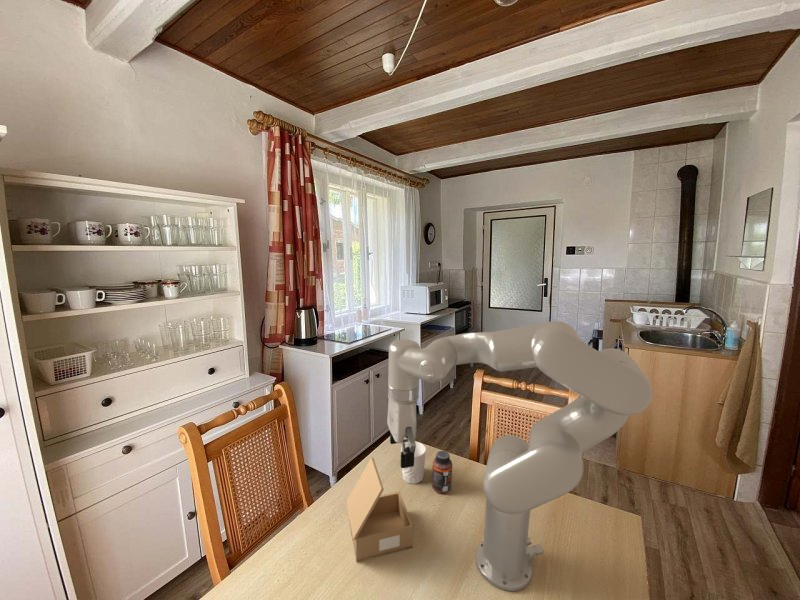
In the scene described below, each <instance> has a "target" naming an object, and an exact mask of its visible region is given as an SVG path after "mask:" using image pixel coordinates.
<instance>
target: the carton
mask: <svg viewBox="0 0 800 600" xmlns="http://www.w3.org/2000/svg"><path fill="white" fill-rule="evenodd" d="M408 512H409V511H408V510H407V507H406V505H405V502H404V499H403V497H402V495H401V492H400V491H397V492H390V493H386V494H381V495H380V497H379V499H378V501H377V503H376V504H375V506H374V508H373V510H372V511H371V513H370V515H369V517H368V518H367V520H366V522H365V524H364V525H363V527H362V529H361V531H360V533H359V534H358V536H357V538H356V540H354V539H353V536H352V531H351V530H350V533H351V538H352V544H353V550H354V556H355V560H356V563H357V562H361V561H366V560H370V559H372V558H377V557H380V556H384V555H388V554H394V553H396V552H400V551H404V550H407V549H412V548H414V525H413V522H412V520H411V517H410V514H409V513H408ZM348 522H349V523H350V519H349V518H348ZM349 528H350V529H351V525H350V524H349Z"/></svg>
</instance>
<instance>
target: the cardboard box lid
mask: <svg viewBox="0 0 800 600" xmlns="http://www.w3.org/2000/svg"><path fill="white" fill-rule="evenodd" d="M384 490H385V489H384V486H383V483H382V480H381V477H380V474H379V471H378V467H377V465H376V462H375V459H374V458H373V457H371V458H370V459H369V461H368V463H367V465H366V466H365V468H364V470H363V472H362V474H361V475H360V477H359V478H358V481H357V482H356V484H355V486H354V487H353V489H352V491H351V493H350V495H349V496H348V498H347V500H346V507H347V513H348V520H349V519H350V522H349V526H350V525H351V528H350V532H351V531H352V534H351V537H352V536H353V539H354V540H356V538H357V536H358V534H359V533H360V531H361V529H362V527H363V525H364V524H365V522H366V520H367V518H368V517H369V515H370V513H371V511H372V510H373V508H374V506H375V504H376V503H377V501H378V499H379V497H380V496H381V495H383V494H382V493H383V492H384ZM353 539H352V540H353Z"/></svg>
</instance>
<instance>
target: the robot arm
mask: <svg viewBox="0 0 800 600" xmlns="http://www.w3.org/2000/svg"><path fill="white" fill-rule="evenodd" d="M472 363H473V364H477V363H478V364H485V365H488V366H489V367H491V368H492V369H493V370H495V371H497V372H509V371H516V370H517V371H518V370H524V369H532V368H538V369H539V371H541V372H542V373H543V374H545V376H547V377H549V378H550V379H552V380H553V381H554V382H556V383H558V384H559V385H561V386H563V387H565V388H566V389H568V390H569V391H572V393H575V394H577V395H578V397H577V398H576V399H574V400H572V401H571V402H570V403H569V404H567V405H564V406H563V407H561V408H559V409H557V410H555V411H554V412H552V413H550V414H548V415H546V416H545V417H542V418H541V419H539V420H538V421H536V422H535V423H534V424H532V426H531V428H530V431H529V434H528V435H529V436H528V443H527V442H526V441H525V440H524V439H523V438H521V437H519V436H517V435H513V434H506V435H502V436H499V438H497V439H495V441H494V442H493V443H492V445H491V448H490V450H489V453H488V458H487V461H486V467H485V471H484V476H483V481H482V484H483V485H482V489H483V493H484V496H485V514H484V528H483V540H482V541H481V542H480V543H479V544H478V546H477V547H476V551H475V563H476V566H477V569H478V571H479V573H480V574H481V575H482V577H483V578H484V579H485V580H486V581H487V582H488V583H490V584H491V585H492V586H495V587H496V588H499V589H500V590H503V591H513V592H515V591H520V590H522V589H525V587H527V586H528V585H529V584H530V582H531V578H532V575H533V566H532V561H531V560H532V559H533V557H535V556H536V557H537V556H540V555H543V554H544V549H543V548H544V547H543V546H542V545H541V544H540V543H539V544H534V545H532V544H533V543H532V539H531V538H530V537H529V528H530V527H529V526H530V515H531V511H532V510H533V509H536V508H538V507H540V506H542V505H545V504H547V503H549V502H552V501H554V500H556V499H558V498H560V497H563V496H564V495H566V494H568V493H570V492H572V491H573V490H574V489H575V488H576V487H577V486H578V485H579V484H580V481H581V480H582V478H583V475H584V460H583V454H584V453H585V452H586V451H588V450H589V449H591V448H593V447H595V446H597V445H598V444H600V443H601V442H604V441H605V440H607V439H608V438H610V437H612V436H613V435H615V434H616V433H617V432H618V431H619V430H620V429H621V428H622V427H623V426H624V425H625V424H626V422H628V419H629V417H630V416H634V415H638V414H640V413H642V412H643V411H645V410H646V409H648V407H649V406H650V405H651V403H652V400H653V396H654V395H653V393H654V392H653V387H652V384H651V382H650V380H649V379H648V377H647V376H646V374H645V373H644V372H643V370H642V369H641V367H640V366H639V365H638V363H637V362H636V361H635V360H634V359H633V357H632V356H630V355H629V354H628V353H627V352H626V351H623V350H622V349H618V348H612V347H610V348H609V347H608V348H604V349H601V350H597V349H595V348H594V347H592V346H590V345H588V344H586V343H585V342H584V341H582V340H581V338H580V336H579V334H578V332H577V331H576V330H575V328H573V327H572V326H571V325H570V324H568V322H567V323H566V322H565V321H559V320H555V321H554V320H553V321H545V322H542V323H541V322H539V323H534V324H529V325H528V324H527V325H525V326H519V327H513V328H509V329H508V328H507V329H503V330H496V331H481V332H480V331H479V332H466V333H465V332H464V333H460V334H459V333H458V334H456V335H455V334H454V335H449V336H444V337H440V338H436V339H435V340H433V341H432V342H431V343H429V344H428V345H427V346H426V347H424V348H421V346H420V344H419V343H418V342H416V341H415V340H411V339H403V338H402V339H397V340H396V339H395V340H394V341H392V342H391V343H390V344H389V347H388V368H387V369H388V370H387V371H388V375H387V376H388V378H387V398H388V403H387V404H388V405H387V417H386V419H387V421H386V423H387V427H388V429H389V432H390V433H389V436H390V437H389V438H390V439H389V443H390V445H396V444H401V446H402V452H401V451H400V468H401V469H402V468H407V467H413V466H414V453H415V447H416V443H415V442H416V439H417V438H416V437H417V401H418V399H419V397H420V396H419V392H420V381H423V382H426V383H431V384H432V383H433V384H435V383H439V382H441V381H442V380H444V379H445V378H446V377H447V375H448V373H449V372H450V370H451V369H452V368H453V367H455V366H458V365H460V366H461V365H464V364H472ZM406 442H409V445H408V446H409V447H406V448H405V443H406ZM531 545H532V546H531Z"/></svg>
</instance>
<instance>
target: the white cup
mask: <svg viewBox="0 0 800 600" xmlns="http://www.w3.org/2000/svg"><path fill="white" fill-rule="evenodd" d="M415 443H416V447H415V453H414V466H413V467H407V468H401V477H402V479H403V481H404V482H405V483H407V484H412V485H416V484H419V483H421V482H422V481H423V479H424V473H425V464H426V455H427V453H426V452H427V448H426V446H425V445H424V444H423V443H422V442H420V441H419V442H418V441H415ZM408 445H409V442H405V448H406V447H409V446H408ZM401 452H402V445H401V446H400V453H401Z"/></svg>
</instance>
